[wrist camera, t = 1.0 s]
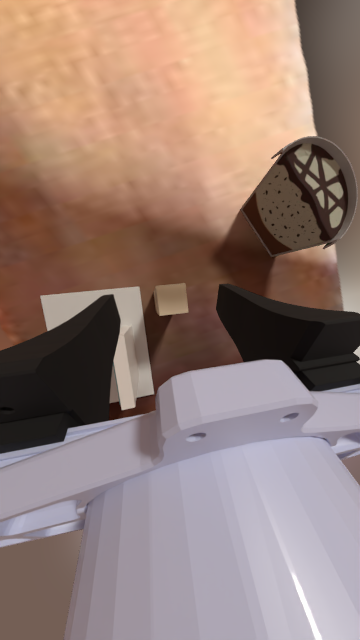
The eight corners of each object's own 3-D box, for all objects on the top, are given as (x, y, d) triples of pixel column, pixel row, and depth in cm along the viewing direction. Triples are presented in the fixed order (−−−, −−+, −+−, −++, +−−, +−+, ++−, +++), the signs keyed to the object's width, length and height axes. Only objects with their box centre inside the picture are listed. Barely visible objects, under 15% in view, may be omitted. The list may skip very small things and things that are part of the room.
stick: (175, 309, 26) (188, 312, 17) (156, 311, 25) (159, 315, 17) (172, 290, 26) (185, 283, 17) (153, 292, 25) (155, 286, 16)
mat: (153, 392, 27) (153, 394, 26) (66, 410, 24) (64, 412, 24) (139, 286, 25) (139, 286, 24) (42, 295, 22) (40, 295, 22)
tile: (139, 375, 26) (135, 407, 18) (128, 377, 25) (119, 410, 17) (131, 324, 25) (123, 334, 17) (120, 326, 24) (107, 337, 16)
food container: (300, 241, 29) (377, 210, 19) (275, 264, 28) (342, 243, 19) (262, 178, 26) (328, 104, 17) (234, 201, 26) (286, 139, 16)
